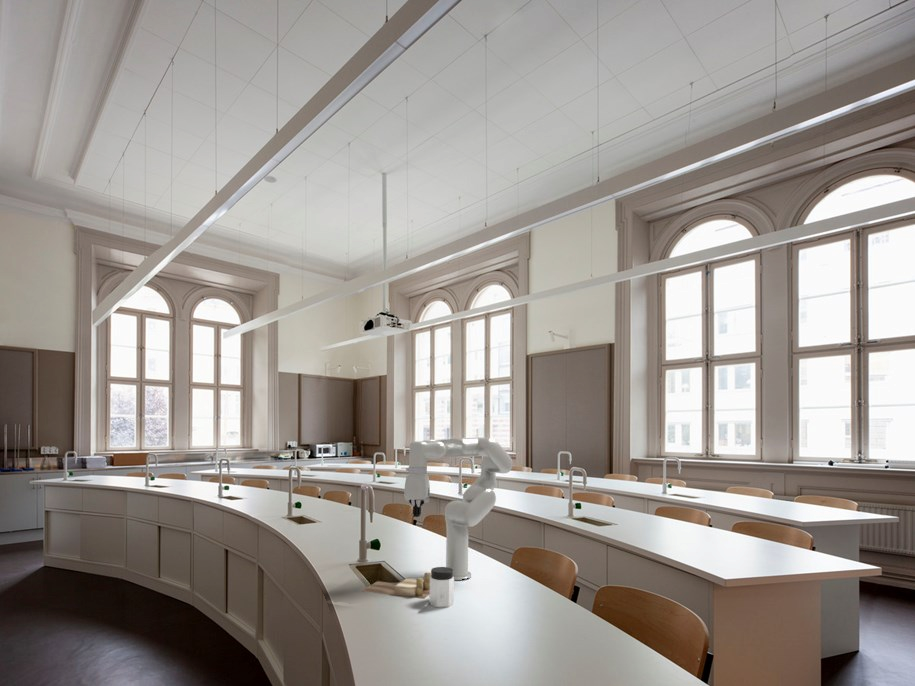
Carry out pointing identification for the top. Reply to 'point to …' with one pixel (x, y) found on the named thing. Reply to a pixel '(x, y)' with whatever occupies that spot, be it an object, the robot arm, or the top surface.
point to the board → (390, 587)
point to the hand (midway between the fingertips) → (416, 516)
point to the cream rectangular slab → (407, 587)
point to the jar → (441, 587)
